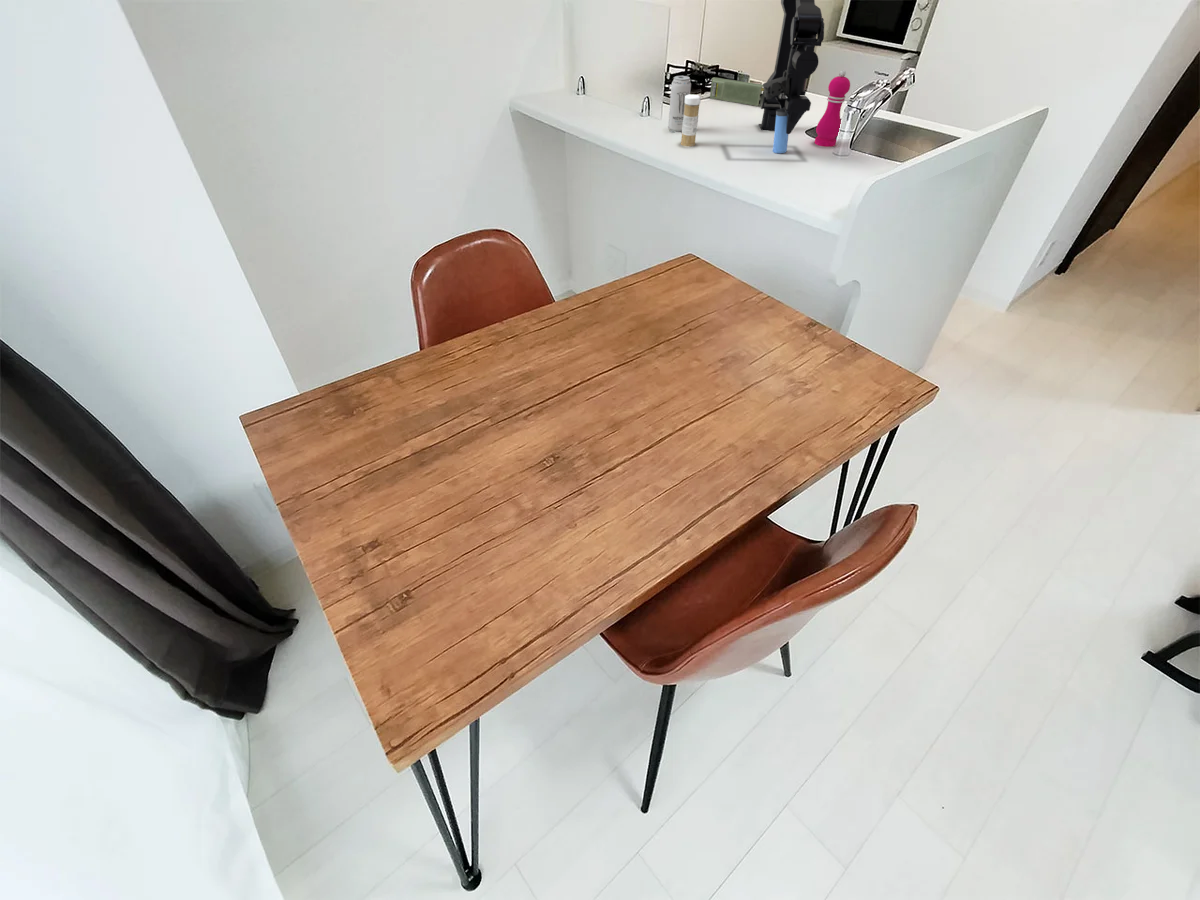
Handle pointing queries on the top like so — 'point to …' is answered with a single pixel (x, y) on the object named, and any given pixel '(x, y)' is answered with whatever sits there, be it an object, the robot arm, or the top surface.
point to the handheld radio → (736, 91)
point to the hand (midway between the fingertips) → (785, 129)
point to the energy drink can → (678, 102)
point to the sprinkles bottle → (690, 119)
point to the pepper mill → (832, 111)
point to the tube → (780, 132)
